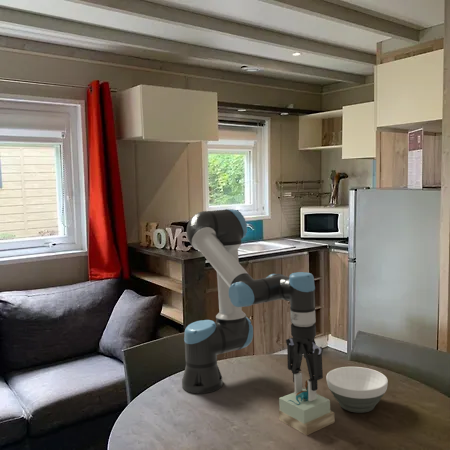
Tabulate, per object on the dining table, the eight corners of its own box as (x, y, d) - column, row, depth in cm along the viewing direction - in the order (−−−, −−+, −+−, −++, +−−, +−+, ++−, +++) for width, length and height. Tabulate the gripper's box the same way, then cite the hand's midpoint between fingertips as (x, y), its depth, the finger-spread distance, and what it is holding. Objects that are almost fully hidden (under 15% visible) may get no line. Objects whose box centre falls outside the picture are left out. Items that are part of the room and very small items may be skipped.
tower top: (279, 410, 152) (279, 398, 151) (304, 400, 158) (304, 388, 158) (304, 423, 143) (304, 410, 142) (330, 412, 149) (329, 399, 149)
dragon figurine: (313, 406, 143) (320, 386, 149) (290, 394, 145) (298, 375, 151) (307, 418, 147) (314, 399, 153) (284, 407, 148) (293, 388, 155)
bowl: (391, 397, 164) (391, 370, 163) (384, 424, 146) (383, 394, 146) (333, 389, 172) (333, 363, 172) (320, 414, 155) (319, 385, 154)
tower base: (279, 422, 152) (278, 410, 152) (306, 410, 159) (306, 399, 159) (306, 438, 142) (306, 425, 142) (334, 424, 149) (334, 412, 149)
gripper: (273, 319, 153) (276, 390, 155) (317, 332, 138) (319, 410, 140) (290, 315, 157) (293, 384, 159) (334, 327, 143) (336, 402, 145)
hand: (305, 396), depth 150 cm, fingers open, 5 cm apart
